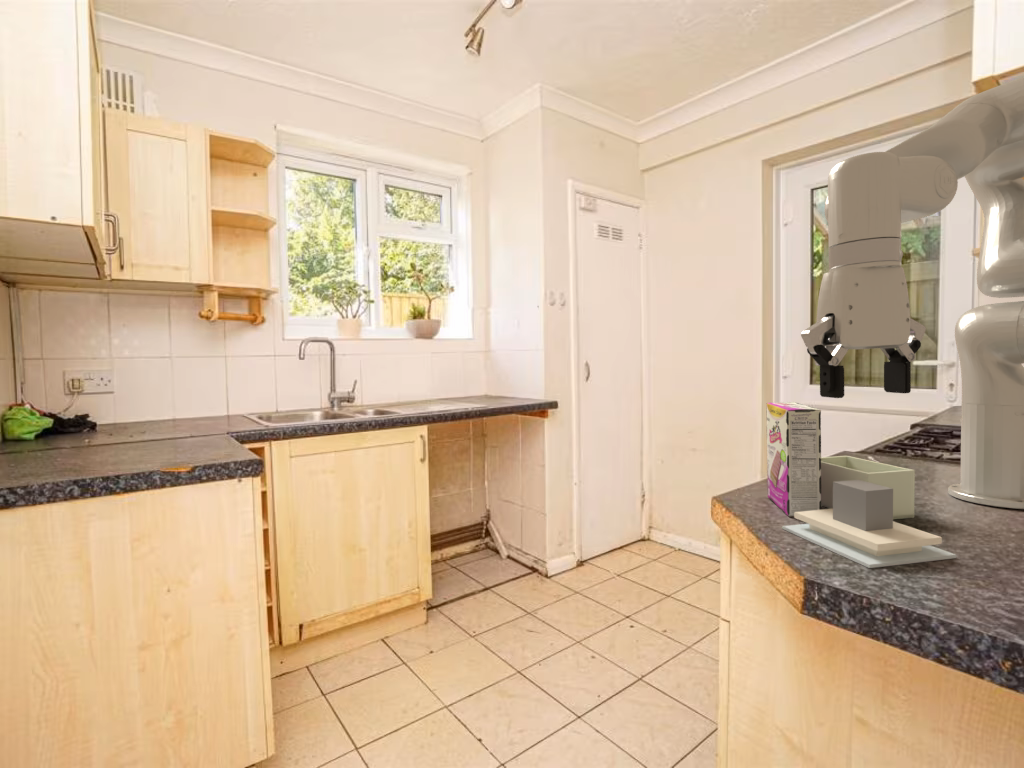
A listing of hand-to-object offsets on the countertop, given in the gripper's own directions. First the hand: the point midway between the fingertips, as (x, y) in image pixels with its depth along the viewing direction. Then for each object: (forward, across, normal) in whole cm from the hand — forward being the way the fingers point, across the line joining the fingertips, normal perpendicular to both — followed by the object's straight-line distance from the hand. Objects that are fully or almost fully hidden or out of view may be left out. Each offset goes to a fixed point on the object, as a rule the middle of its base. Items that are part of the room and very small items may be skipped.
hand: (864, 394), depth 65 cm
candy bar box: (+19, -2, -15) cm, 25 cm away
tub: (+19, -11, -12) cm, 25 cm away
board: (+19, +1, 0) cm, 19 cm away
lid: (+19, +1, 0) cm, 19 cm away
